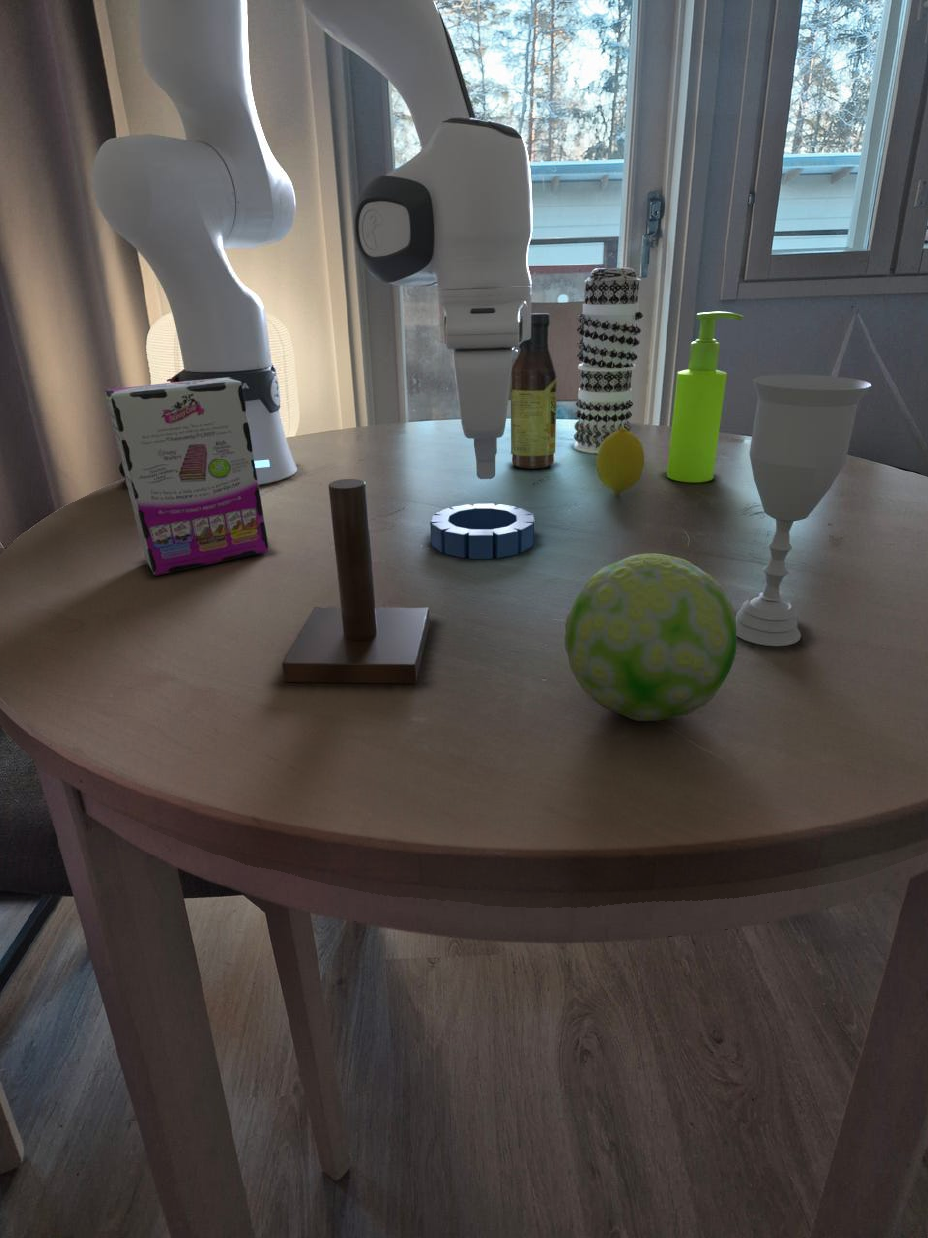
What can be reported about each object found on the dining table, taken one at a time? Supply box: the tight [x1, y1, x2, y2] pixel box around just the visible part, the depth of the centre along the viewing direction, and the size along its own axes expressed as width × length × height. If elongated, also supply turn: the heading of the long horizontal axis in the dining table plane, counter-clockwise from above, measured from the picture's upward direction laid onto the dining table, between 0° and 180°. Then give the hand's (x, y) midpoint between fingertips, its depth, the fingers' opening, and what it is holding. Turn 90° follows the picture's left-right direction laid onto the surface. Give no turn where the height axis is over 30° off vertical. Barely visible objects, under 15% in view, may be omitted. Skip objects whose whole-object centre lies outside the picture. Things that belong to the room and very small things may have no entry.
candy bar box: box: [104, 377, 270, 576], centre depth 67 cm, size 11×5×16 cm, turn 122°
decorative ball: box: [564, 552, 738, 722], centre depth 43 cm, size 10×10×10 cm
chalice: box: [735, 374, 872, 647], centre depth 50 cm, size 7×7×18 cm
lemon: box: [596, 428, 645, 495], centre depth 86 cm, size 6×6×8 cm
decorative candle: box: [573, 267, 644, 454], centre depth 105 cm, size 9×9×25 cm
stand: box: [281, 478, 430, 685], centre depth 50 cm, size 9×9×12 cm
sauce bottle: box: [510, 312, 558, 470], centre depth 97 cm, size 7×6×20 cm
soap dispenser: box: [666, 311, 745, 483], centre depth 90 cm, size 6×7×20 cm
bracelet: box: [429, 503, 535, 560], centre depth 73 cm, size 10×10×2 cm
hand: (487, 465), depth 74 cm, fingers open, 8 cm apart
